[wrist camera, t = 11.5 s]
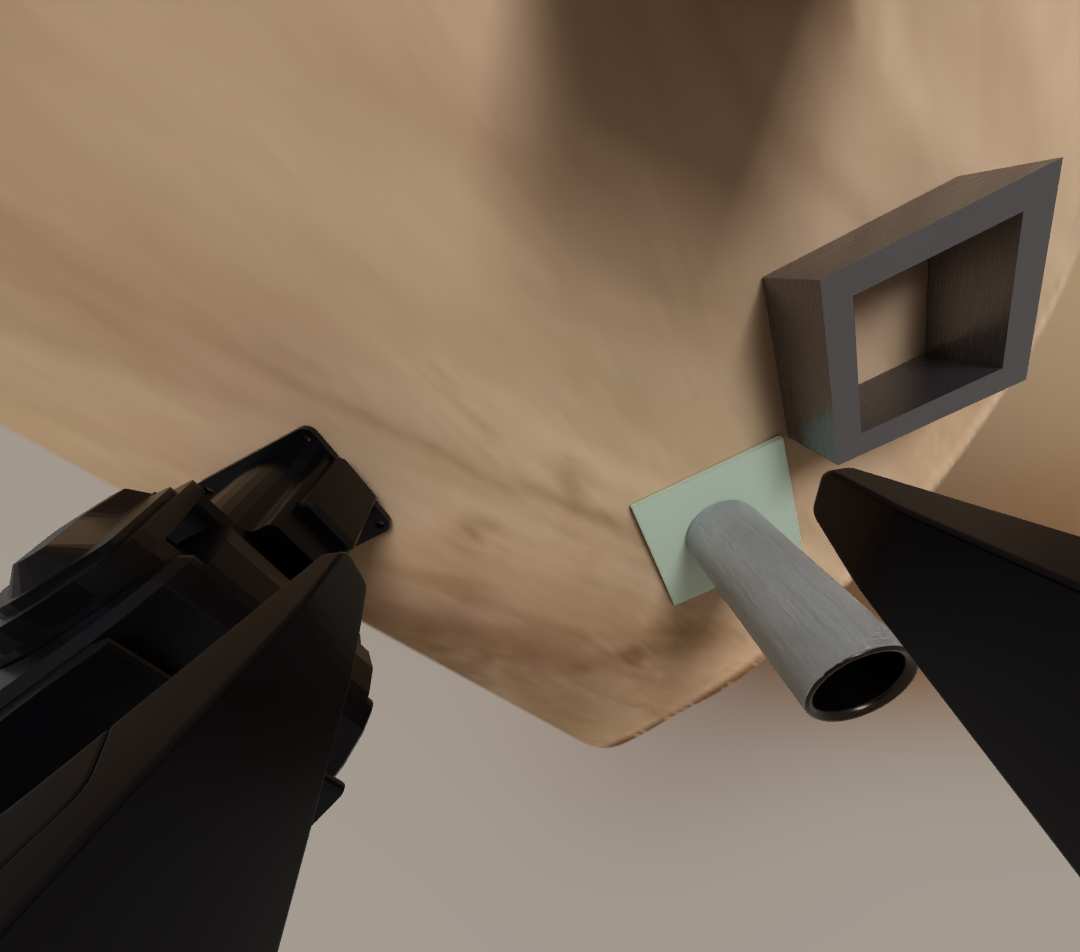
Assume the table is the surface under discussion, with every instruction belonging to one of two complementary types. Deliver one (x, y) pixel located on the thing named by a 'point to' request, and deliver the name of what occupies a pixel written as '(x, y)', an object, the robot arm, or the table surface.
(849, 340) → the collar
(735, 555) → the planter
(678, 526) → the mat
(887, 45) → the table surface
